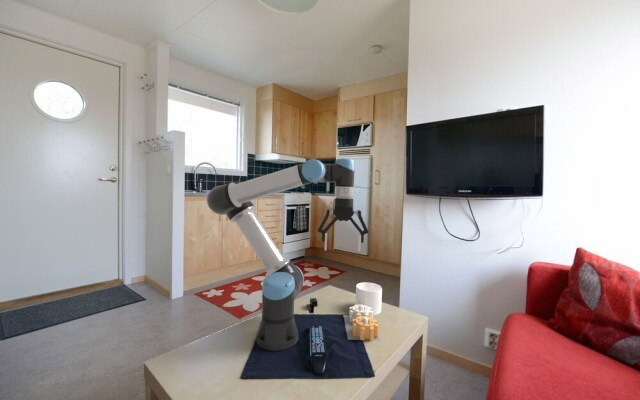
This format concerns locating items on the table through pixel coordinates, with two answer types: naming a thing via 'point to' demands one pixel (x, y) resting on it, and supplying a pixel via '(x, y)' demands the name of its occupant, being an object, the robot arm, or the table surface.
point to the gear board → (349, 326)
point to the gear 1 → (360, 312)
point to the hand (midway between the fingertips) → (342, 250)
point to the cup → (369, 296)
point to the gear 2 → (365, 328)
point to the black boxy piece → (312, 305)
